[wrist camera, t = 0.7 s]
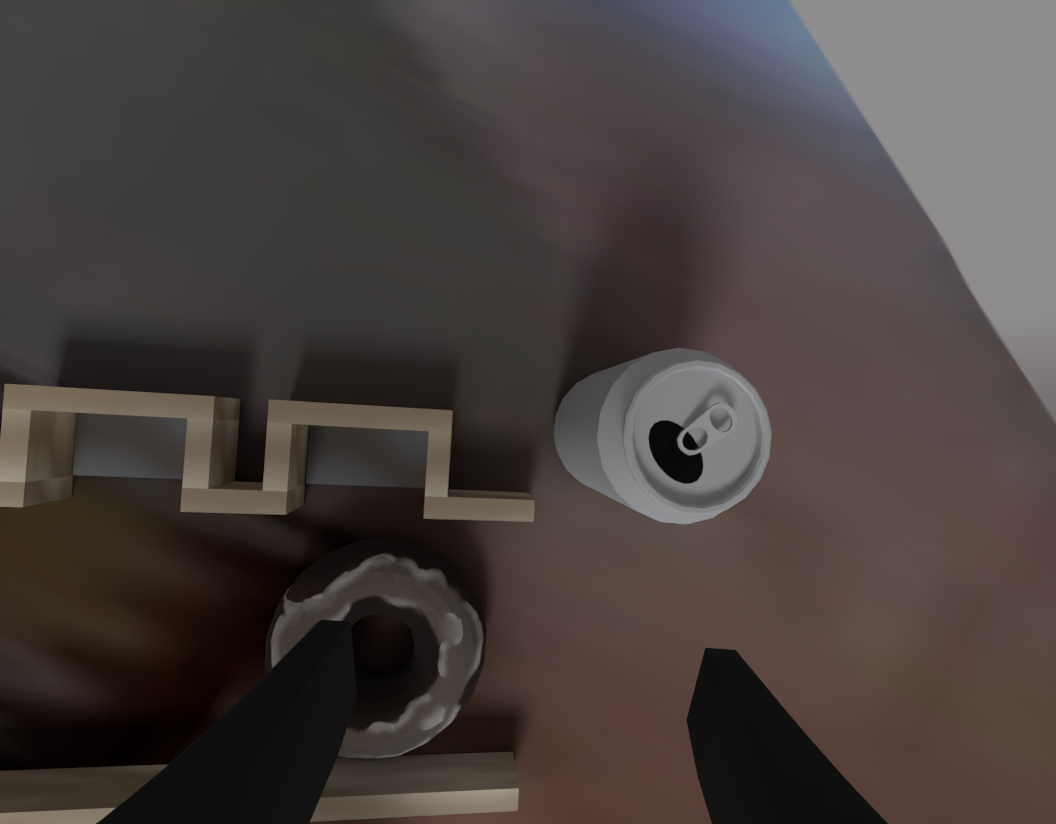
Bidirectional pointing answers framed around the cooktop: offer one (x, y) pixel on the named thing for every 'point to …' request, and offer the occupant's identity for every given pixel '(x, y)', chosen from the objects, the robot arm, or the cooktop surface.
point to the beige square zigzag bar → (209, 486)
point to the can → (666, 435)
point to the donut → (422, 604)
